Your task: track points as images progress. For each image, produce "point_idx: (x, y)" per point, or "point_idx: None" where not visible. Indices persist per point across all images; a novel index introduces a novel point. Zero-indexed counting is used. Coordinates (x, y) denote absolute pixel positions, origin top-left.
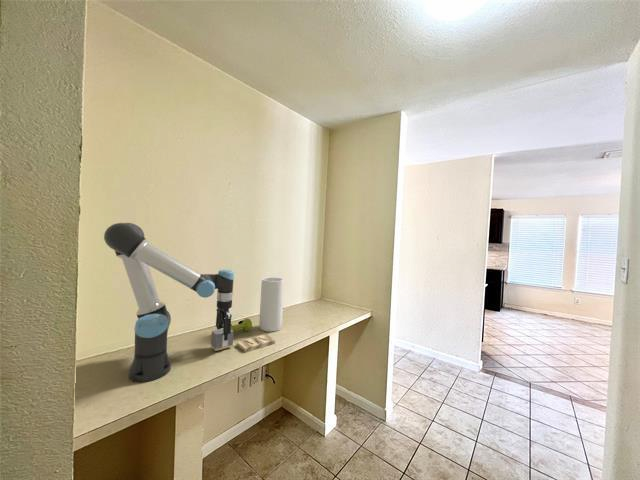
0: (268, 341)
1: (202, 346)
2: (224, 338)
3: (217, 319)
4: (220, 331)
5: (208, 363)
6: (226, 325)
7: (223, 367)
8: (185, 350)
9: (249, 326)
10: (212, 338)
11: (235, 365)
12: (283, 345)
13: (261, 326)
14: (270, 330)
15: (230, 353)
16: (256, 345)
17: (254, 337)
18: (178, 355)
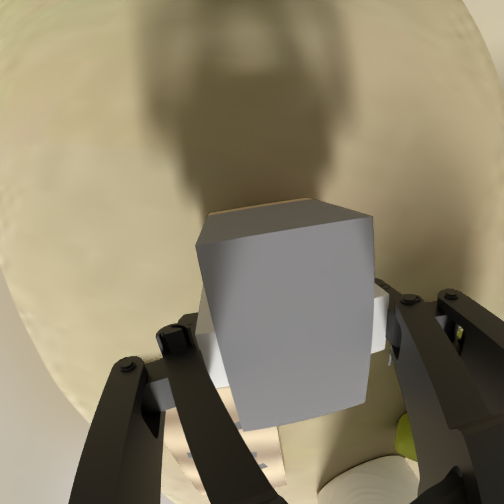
0: (194, 480)
1: (364, 151)
2: (195, 323)
3: (499, 351)
4: (311, 321)
5: (80, 147)
6: (83, 459)
7: (17, 226)
8: (345, 48)
9: (398, 445)
10: (309, 209)
11: (22, 289)
12: (172, 490)
13: (370, 474)
14: (326, 488)
15: (158, 306)
16: (165, 443)
17: (277, 455)
18: (288, 4)
